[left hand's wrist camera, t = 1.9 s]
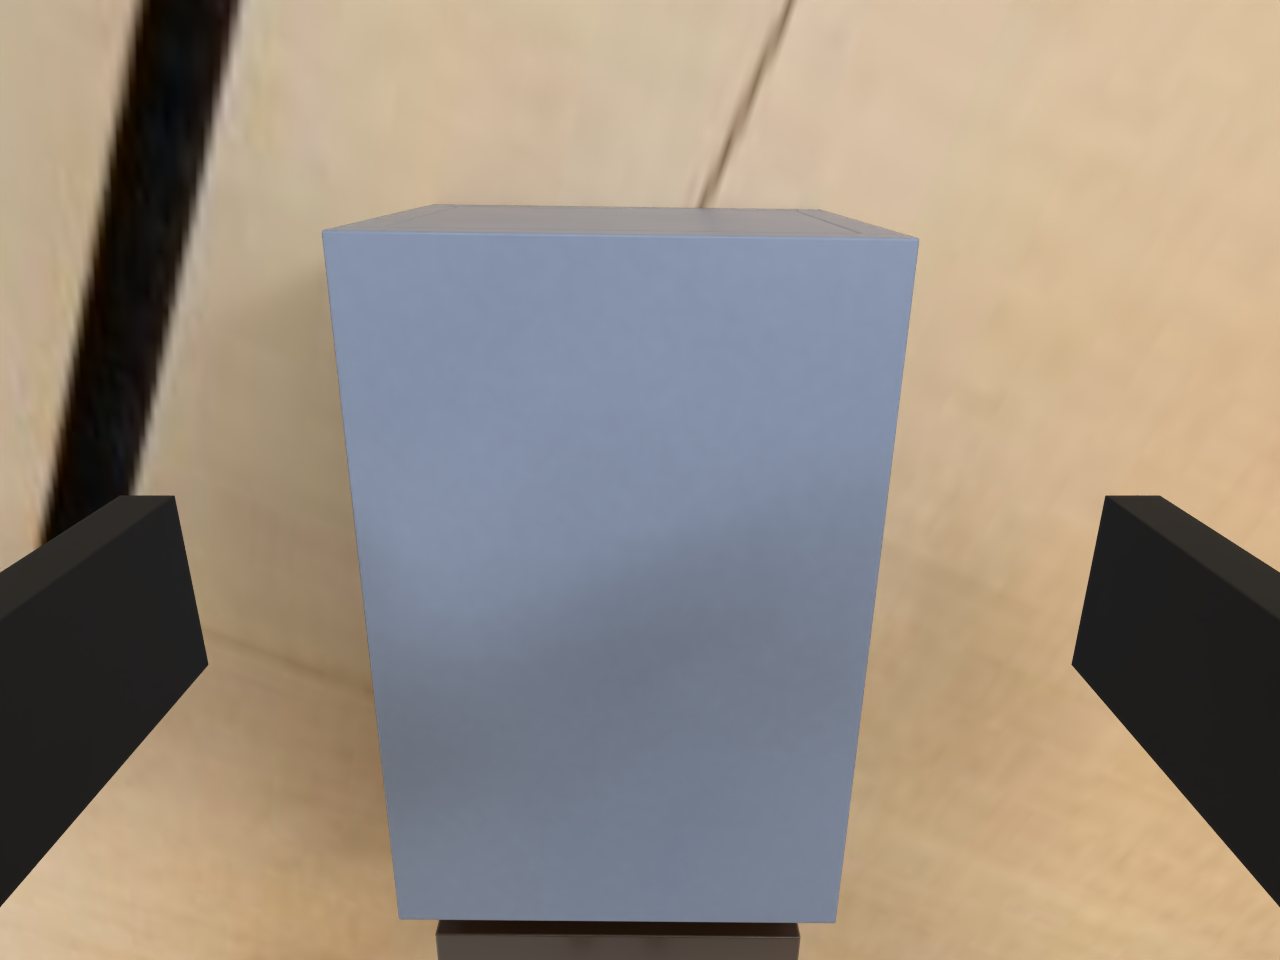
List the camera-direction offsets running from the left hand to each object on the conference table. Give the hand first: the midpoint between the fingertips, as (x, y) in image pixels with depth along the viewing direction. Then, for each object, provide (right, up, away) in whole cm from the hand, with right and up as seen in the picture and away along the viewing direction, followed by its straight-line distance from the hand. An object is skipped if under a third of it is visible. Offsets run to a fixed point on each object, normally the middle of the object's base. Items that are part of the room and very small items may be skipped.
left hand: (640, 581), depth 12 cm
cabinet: (0, +1, +15) cm, 15 cm away
